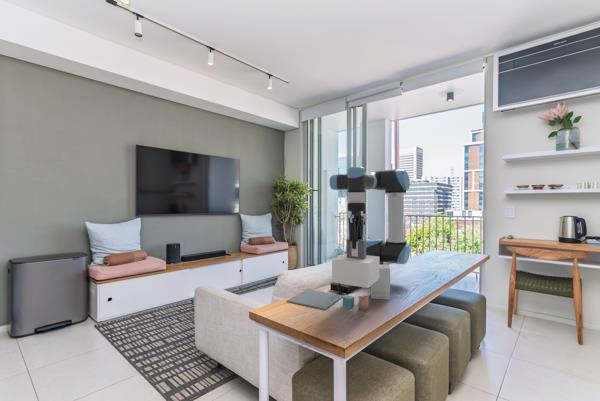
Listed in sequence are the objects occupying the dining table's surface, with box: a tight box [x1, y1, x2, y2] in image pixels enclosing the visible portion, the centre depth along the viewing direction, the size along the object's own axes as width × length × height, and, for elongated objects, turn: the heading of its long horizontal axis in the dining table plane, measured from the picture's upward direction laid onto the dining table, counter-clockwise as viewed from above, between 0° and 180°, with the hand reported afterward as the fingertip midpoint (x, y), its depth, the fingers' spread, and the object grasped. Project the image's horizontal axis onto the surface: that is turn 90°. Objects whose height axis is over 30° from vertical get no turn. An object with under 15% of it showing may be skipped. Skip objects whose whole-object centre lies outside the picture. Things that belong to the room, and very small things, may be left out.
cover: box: [331, 238, 380, 289], centre depth 129 cm, size 16×16×18 cm
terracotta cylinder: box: [358, 295, 369, 312], centre depth 127 cm, size 4×4×5 cm
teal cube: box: [342, 294, 355, 309], centre depth 131 cm, size 4×4×4 cm
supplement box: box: [370, 264, 391, 301], centre depth 144 cm, size 9×9×15 cm
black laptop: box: [329, 282, 363, 295], centre depth 155 cm, size 20×14×17 cm
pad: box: [286, 288, 345, 311], centre depth 139 cm, size 20×20×1 cm
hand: (356, 255), depth 129 cm, fingers closed on cover, 3 cm apart
